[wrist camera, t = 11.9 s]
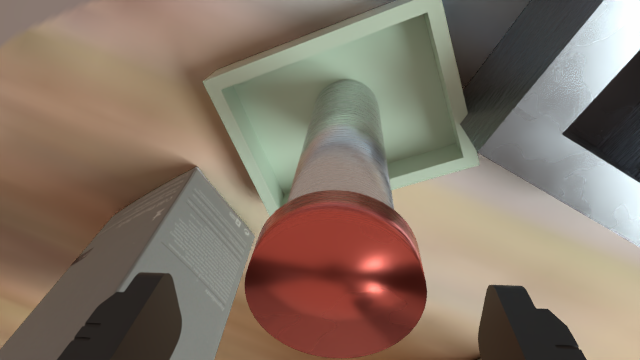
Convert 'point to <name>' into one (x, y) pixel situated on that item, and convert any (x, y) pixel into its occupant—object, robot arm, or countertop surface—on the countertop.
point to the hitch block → (567, 106)
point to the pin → (338, 241)
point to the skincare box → (150, 269)
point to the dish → (360, 65)
